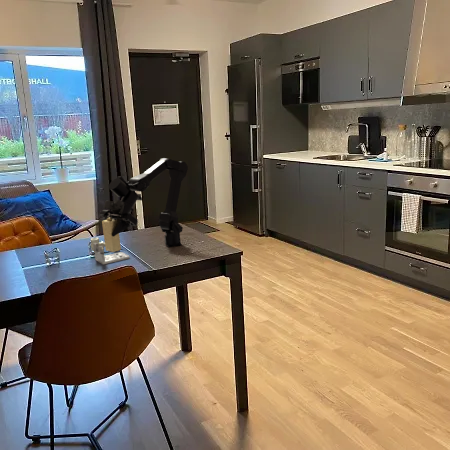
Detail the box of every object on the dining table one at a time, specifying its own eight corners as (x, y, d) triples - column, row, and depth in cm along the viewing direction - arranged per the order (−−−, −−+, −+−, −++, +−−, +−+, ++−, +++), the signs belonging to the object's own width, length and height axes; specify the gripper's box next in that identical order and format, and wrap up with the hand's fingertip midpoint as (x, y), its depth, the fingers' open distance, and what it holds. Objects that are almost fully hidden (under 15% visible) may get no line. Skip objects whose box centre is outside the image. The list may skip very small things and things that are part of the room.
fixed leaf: (121, 254, 212) (119, 237, 211) (129, 258, 205) (127, 241, 203) (94, 260, 206) (92, 243, 204) (101, 264, 198) (99, 247, 197)
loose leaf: (113, 247, 199) (109, 216, 196) (121, 249, 196) (117, 217, 193) (105, 250, 196) (101, 218, 193) (113, 252, 193) (109, 219, 189)
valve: (91, 255, 214) (118, 251, 217) (89, 241, 213) (116, 237, 215) (92, 251, 221) (118, 248, 223) (90, 237, 219) (116, 234, 222)
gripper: (100, 191, 199) (81, 222, 194) (128, 193, 187) (109, 227, 182) (118, 205, 207) (100, 236, 201) (146, 209, 195) (128, 241, 189)
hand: (108, 235), depth 193 cm, fingers closed on loose leaf, 5 cm apart
